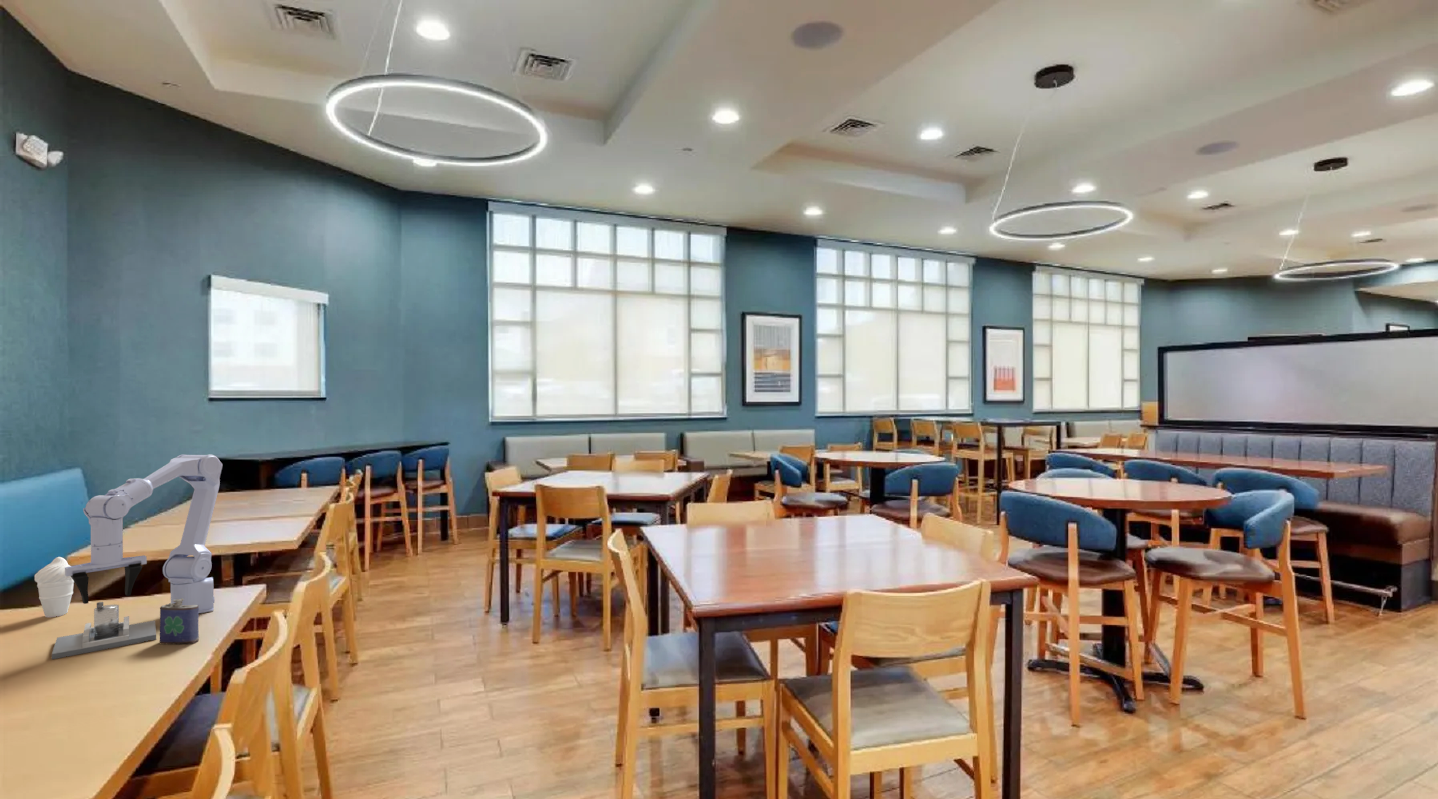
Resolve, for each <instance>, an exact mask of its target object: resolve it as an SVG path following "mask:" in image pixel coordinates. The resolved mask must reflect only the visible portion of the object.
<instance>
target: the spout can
mask: <svg viewBox="0 0 1438 799" xmlns="http://www.w3.org/2000/svg"><path fill="white" fill-rule="evenodd" d="M119 606H120V605H119V604H115V603H113V604H107V605H104V602H103V601H99V602H96V607H95V608H94V609H93V614H94V615H93V627H94V638H95V639H104V638H109V637H113V636H116V635H118V634H119V623H120V621H119V620H120V618H119V617H120V615H119V614H120V613H119V612H120V607H119Z"/></svg>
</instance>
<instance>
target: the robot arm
mask: <svg viewBox="0 0 1438 799" xmlns="http://www.w3.org/2000/svg"><path fill="white" fill-rule="evenodd" d="M222 470H223V463H222V462H221V461H220V459H219V458H218V457H217V456H216V455H214V454H180V455H177V456H176V457H174V458H171V459H170V460H169V462H168V463H167V464H165V465H164V466H161V467H160V468H159V469H157V470H155V471H154V472H152V473H150V474H149V475H148V476H147V475H146V477H144V478H141V477H138V478H129V479H127V480H125V483H124V484H122V485H120V486H118V487H116V488H112V489H109V490H108V491H107V493H105V494H104V495H103V494H102V495H101V494H100V495H95V496H93V497H92V498H91V499H89V500H88V501H87V503H86V504H85V507H83V508H82V511H83V514H84V515H85V516H86V517H87V519H88V525H90V562H86V563H81V564H76V565H70V567H65V576H71V578H72V579H73V580H74V583H75V585H76V587H77V589H78V591H79V593H80V596H81V600H82V603H83V605H85V604H89V599H90V598H89V578H90V577H89V576H88V573H93V572H100V571H105V570H113V569H118V568H124V574H125V575H124V577H125V583H124V595H125V596H126V597H129V596H131V595H132V589H133V588H134V584H135V581H136V580H137V578H138V577H139V574H140V572H142V569H143V565H147V563H148V560H147V556H146V555H144V554H143V555H137V556H127V557H124V553H123V552H124V550H123V549H124V546H123V545H124V539H123V538H124V534H123V533H124V532H123V531H124V530H123V527H124V524H123V521H124V520H123V519H124V517H125V516H127V514H129V511H130V510H131V508H132V507H134V506H135V505H137V504H139V503H140V502H142V501H144V500H146V499H147V498H150V497H151V496H152V494H153V492H154V489H157V488H158V487H160V486H162V485H164V484H167V483H168V482H170V481H172V480H175V479H176V478H180V479H182V480H183V481H184V482H186V483H188V484H190V485H191V487H192V488H193V494H192V497H191V501H190V506H189V509H188V513H187V517H186V520H185V524H184V528H183V531H182V532H183V533H182V535H181V540H180V544H178V546H177V547H175V548H174V549H172V550H170V552H169V555H168V558H167V560H165V562H164V564H163V566H162V574H163V576H164V577H165V578H166V579H167V580H168V583H170V603H172V604H173V603H176V602H174V601H173V600H176V599H181V598H182V599H184V600H183V601H182V605H198V606H199V611H198V614H203V613H208V612H213V611H214V610H215V609H214V604H215V596H214V594H215V593H214V577H213V576H211V577H208V576H209V574H210V572H211V570H212V564H213V563H212V556H213V555H212V554H213V553H212V552H211V551H210V550H209V549H208V548H207V546H206V542H207V537H208V533H209V530H210V525H211V522H212V518H213V515H214V514H213V513H214V509H215V505H216V503H217V497H218V494H219V490H220V485H221V484H220V483H221V482H220V481H221V479H220V478H221V474H222Z"/></svg>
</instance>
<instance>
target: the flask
mask: <svg viewBox="0 0 1438 799" xmlns="http://www.w3.org/2000/svg"><path fill="white" fill-rule="evenodd" d="M183 600H184V599H182V598H181V599H176V600H173V601H174V602H176V603H173V604H172V603H171V602H170V603H167V604H165V605H161V606H160V607H159V644H160V643H161V644H160V645H188V644H189V645H191V644H197V642H199V641H200V639H199V638H200V634H199V613H198V611H199V606H198V605H182V601H183Z"/></svg>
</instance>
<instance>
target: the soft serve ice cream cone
mask: <svg viewBox="0 0 1438 799" xmlns="http://www.w3.org/2000/svg"><path fill="white" fill-rule="evenodd" d="M70 566H71V565H70V564H68V561H67V560H66V559H65V558H64V557H61V556H58V557H57V556H56V557H55V558H54V559H53V560H52V561H51V562H50V563H49V564H46V565H45V566H44V567H42V568H41V569H39V570H38V571H37V572H36V573H35V574H34V582H35V583H37V585H36V587H37V588H38V589H37V590H38V596H39V597H38V599H39V600H40V603H41V607H42V610H43V614H44V617H45V618H56V616H57V617H60V616H64V614H65V615H67V614H68V611H69V608H70V604H71V601H72V597H73V596H72V595H73V594H74V585H75V584H74V583H75V582H74V580H73V579H72V578H71V576H65V567H70ZM66 613H67V614H66Z"/></svg>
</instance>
